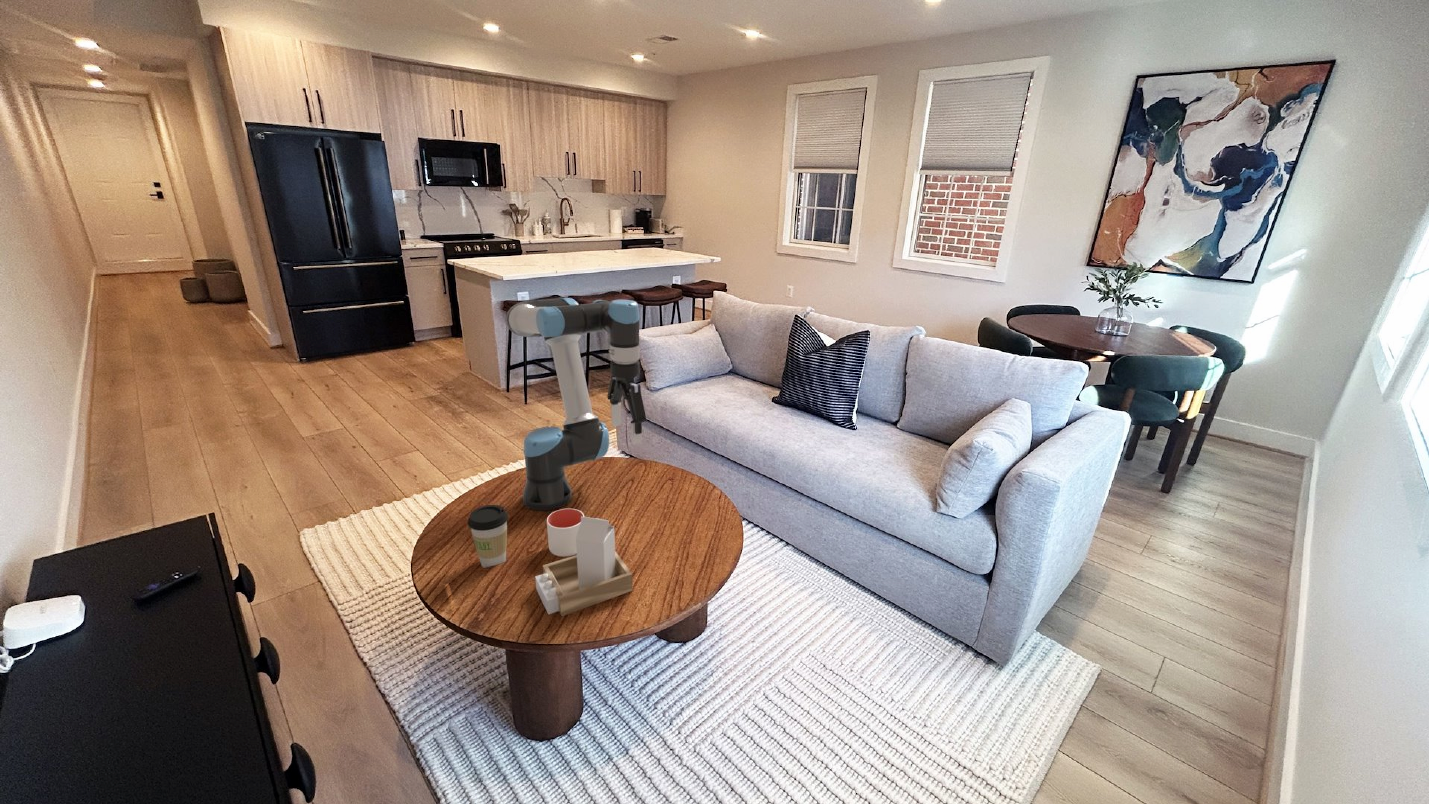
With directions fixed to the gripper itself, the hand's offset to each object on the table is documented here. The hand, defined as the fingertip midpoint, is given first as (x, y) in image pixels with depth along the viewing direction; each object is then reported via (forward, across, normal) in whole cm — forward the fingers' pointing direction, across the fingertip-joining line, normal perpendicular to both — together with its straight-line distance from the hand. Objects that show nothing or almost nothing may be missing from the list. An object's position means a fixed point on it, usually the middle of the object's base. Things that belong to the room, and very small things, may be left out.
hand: (626, 434), depth 152 cm
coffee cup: (+32, -5, -37) cm, 49 cm away
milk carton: (+31, +18, -16) cm, 39 cm away
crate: (+32, +18, -19) cm, 41 cm away
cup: (+32, -1, -18) cm, 37 cm away
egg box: (+31, +18, -28) cm, 46 cm away
